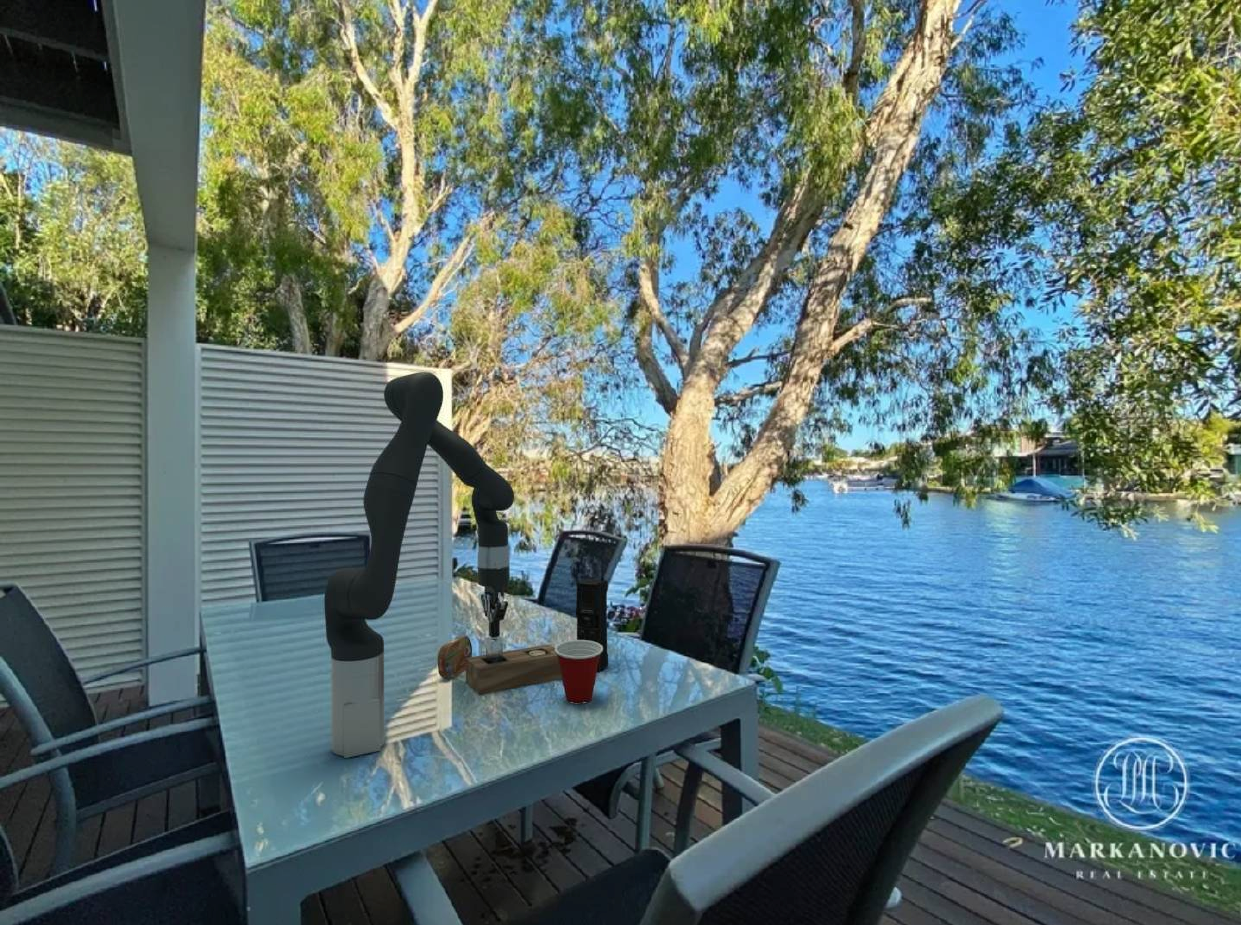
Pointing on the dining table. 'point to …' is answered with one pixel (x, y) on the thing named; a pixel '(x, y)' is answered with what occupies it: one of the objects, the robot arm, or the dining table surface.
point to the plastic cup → (578, 668)
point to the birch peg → (536, 652)
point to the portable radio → (593, 614)
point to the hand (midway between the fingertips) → (494, 636)
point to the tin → (454, 657)
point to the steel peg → (494, 650)
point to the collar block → (513, 670)
